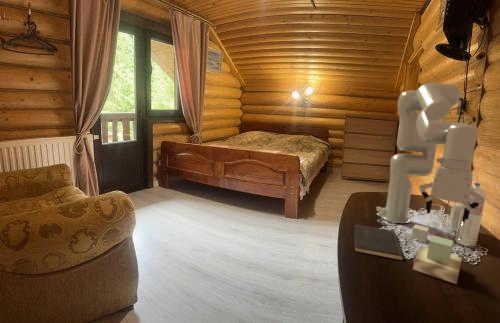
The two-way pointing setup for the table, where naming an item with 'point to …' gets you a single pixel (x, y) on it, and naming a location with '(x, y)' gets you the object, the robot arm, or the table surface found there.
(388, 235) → the hardcover book
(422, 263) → the birch block
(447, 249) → the sage cube
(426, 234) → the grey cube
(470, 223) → the water bottle
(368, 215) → the table surface
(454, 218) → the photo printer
